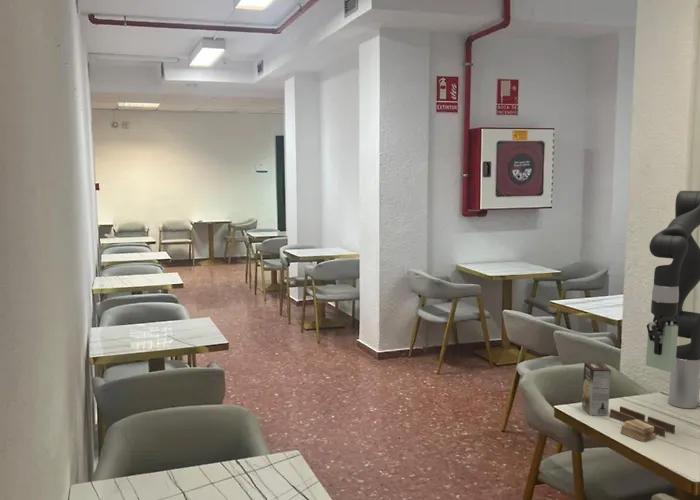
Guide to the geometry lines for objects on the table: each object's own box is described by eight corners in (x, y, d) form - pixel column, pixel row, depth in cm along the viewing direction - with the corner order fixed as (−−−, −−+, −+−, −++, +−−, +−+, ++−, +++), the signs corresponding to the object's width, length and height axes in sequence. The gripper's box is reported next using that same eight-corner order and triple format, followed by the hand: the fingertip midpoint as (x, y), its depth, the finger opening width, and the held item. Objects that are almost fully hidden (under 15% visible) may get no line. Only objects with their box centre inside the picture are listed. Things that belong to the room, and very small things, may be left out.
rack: (620, 413, 226) (621, 406, 225) (674, 433, 209) (675, 425, 209) (609, 416, 223) (610, 409, 222) (663, 436, 206) (663, 429, 206)
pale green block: (651, 363, 213) (654, 321, 211) (675, 370, 206) (678, 326, 205) (645, 365, 212) (648, 322, 210) (669, 371, 205) (672, 327, 203)
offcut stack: (632, 429, 212) (633, 417, 211) (655, 438, 205) (656, 426, 204) (619, 433, 209) (620, 421, 208) (643, 442, 202) (643, 430, 201)
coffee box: (580, 406, 232) (583, 361, 230) (599, 406, 232) (602, 361, 230) (589, 415, 223) (592, 369, 221) (609, 416, 223) (611, 369, 221)
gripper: (667, 295, 213) (663, 347, 215) (640, 299, 206) (636, 353, 208) (689, 299, 207) (685, 353, 209) (662, 303, 200) (658, 359, 202)
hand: (661, 353), depth 208 cm, fingers closed on pale green block, 3 cm apart
